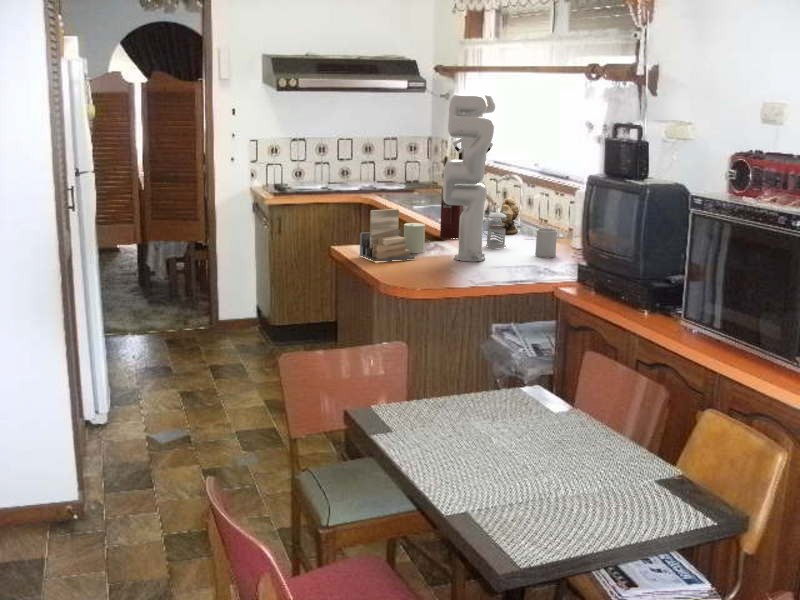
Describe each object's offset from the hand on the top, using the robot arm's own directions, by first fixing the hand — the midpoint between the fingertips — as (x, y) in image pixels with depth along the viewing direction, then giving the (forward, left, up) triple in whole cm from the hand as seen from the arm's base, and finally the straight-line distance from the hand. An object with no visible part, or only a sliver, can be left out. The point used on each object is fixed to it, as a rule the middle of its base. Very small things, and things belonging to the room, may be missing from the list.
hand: (472, 162), depth 389 cm
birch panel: (-9, +47, -35) cm, 60 cm away
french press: (-5, -10, -37) cm, 39 cm away
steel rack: (-12, +47, -37) cm, 61 cm away
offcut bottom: (-16, +47, -35) cm, 61 cm away
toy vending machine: (+21, -4, -37) cm, 43 cm away
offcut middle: (-16, +48, -33) cm, 60 cm away
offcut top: (-16, +47, -30) cm, 58 cm away
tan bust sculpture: (+25, -37, -37) cm, 58 cm away
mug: (-30, -20, -37) cm, 52 cm away
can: (-2, +29, -37) cm, 47 cm away
